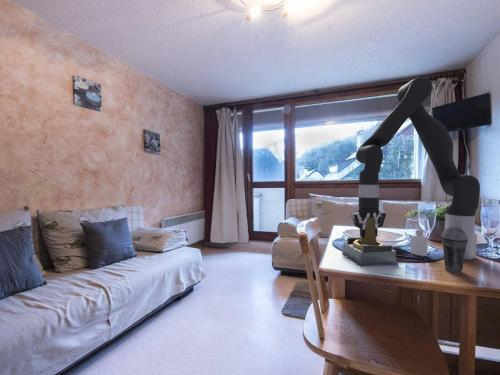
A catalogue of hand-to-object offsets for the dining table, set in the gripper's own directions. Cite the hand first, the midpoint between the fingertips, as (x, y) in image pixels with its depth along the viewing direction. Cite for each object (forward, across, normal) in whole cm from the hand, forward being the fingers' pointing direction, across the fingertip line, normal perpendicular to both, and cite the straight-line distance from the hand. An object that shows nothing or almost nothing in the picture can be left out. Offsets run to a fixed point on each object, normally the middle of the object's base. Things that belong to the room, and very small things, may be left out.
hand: (368, 237), depth 100 cm
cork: (+3, 0, 0) cm, 3 cm away
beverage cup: (+9, -22, +16) cm, 29 cm away
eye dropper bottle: (+9, -23, -1) cm, 25 cm away
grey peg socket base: (+9, 0, 0) cm, 9 cm away
